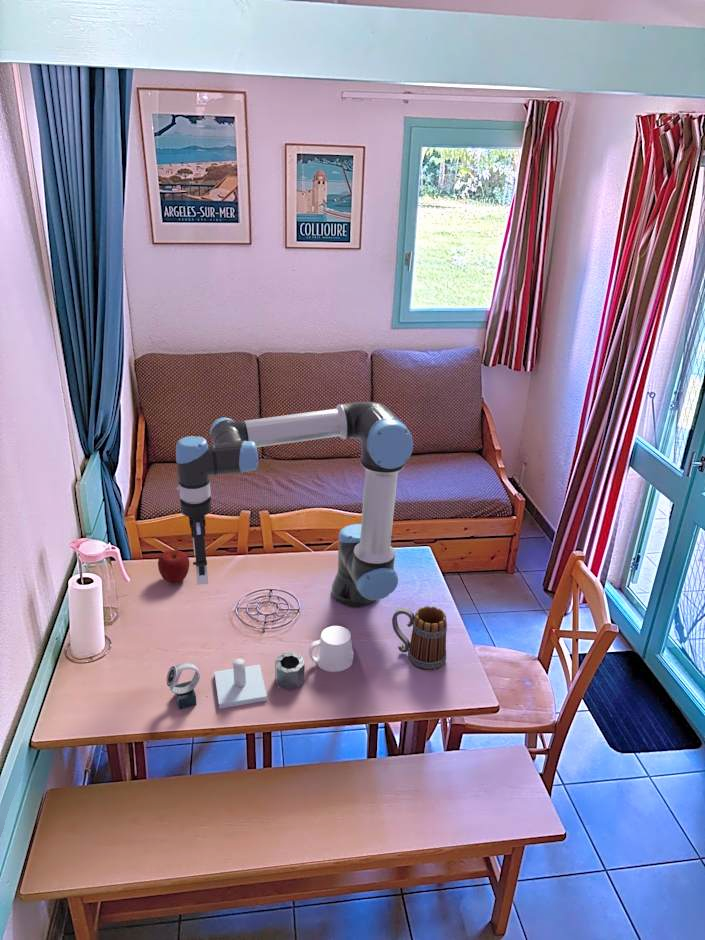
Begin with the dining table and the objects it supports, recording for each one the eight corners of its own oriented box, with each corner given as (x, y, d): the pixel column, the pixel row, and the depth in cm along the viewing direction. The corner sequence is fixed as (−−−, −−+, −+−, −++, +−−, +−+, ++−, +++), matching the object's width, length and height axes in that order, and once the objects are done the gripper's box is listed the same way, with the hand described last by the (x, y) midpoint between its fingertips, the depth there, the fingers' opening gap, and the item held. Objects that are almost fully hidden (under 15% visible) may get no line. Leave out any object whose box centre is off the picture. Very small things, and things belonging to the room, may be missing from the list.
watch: (167, 696, 184) (163, 663, 179) (198, 688, 187) (195, 655, 182) (171, 711, 180) (167, 677, 175) (203, 703, 183) (200, 669, 178)
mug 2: (449, 651, 203) (454, 608, 196) (441, 676, 194) (445, 631, 187) (396, 638, 207) (399, 595, 201) (385, 661, 198) (388, 617, 192)
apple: (187, 589, 225) (184, 562, 220) (156, 588, 225) (153, 561, 220) (193, 572, 233) (191, 545, 229) (163, 571, 233) (161, 544, 229)
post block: (260, 668, 194) (259, 643, 191) (267, 700, 184) (266, 674, 180) (214, 675, 192) (212, 650, 188) (219, 708, 181) (217, 682, 177)
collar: (300, 668, 195) (300, 651, 192) (306, 687, 189) (306, 669, 186) (274, 672, 193) (273, 655, 191) (278, 691, 187) (278, 673, 184)
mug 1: (349, 623, 198) (356, 642, 191) (348, 650, 202) (355, 669, 195) (306, 629, 195) (312, 648, 188) (306, 656, 200) (311, 676, 193)
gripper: (178, 476, 190) (184, 544, 200) (181, 524, 169) (188, 598, 178) (207, 473, 192) (211, 541, 201) (214, 520, 170) (219, 594, 180)
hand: (200, 568), depth 190 cm, fingers open, 13 cm apart
